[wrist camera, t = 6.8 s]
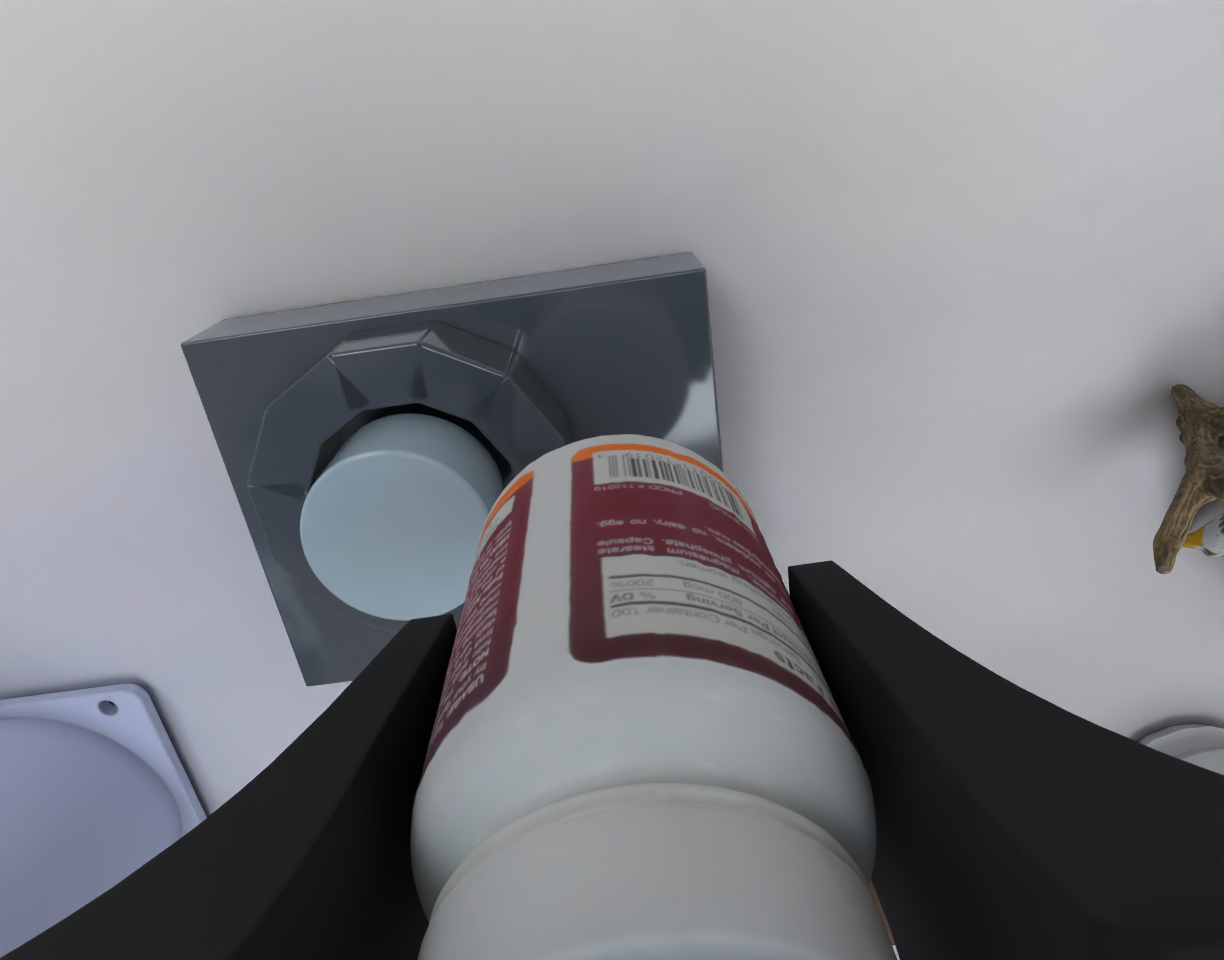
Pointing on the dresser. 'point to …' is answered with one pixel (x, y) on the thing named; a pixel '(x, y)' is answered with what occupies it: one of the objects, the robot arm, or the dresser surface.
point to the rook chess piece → (1191, 744)
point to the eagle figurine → (1194, 481)
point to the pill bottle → (638, 735)
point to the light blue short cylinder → (400, 516)
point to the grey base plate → (446, 399)
